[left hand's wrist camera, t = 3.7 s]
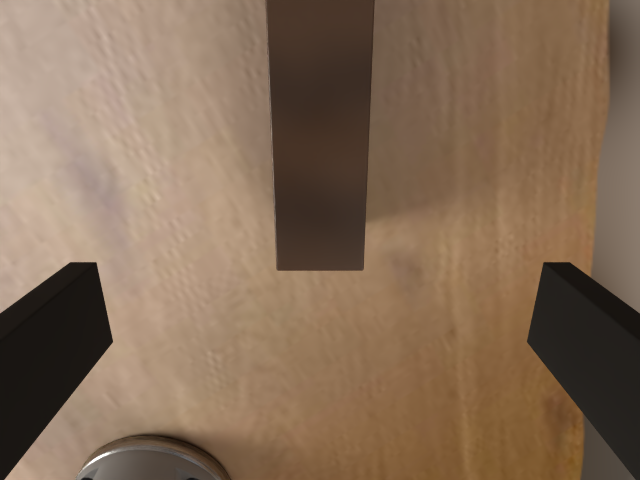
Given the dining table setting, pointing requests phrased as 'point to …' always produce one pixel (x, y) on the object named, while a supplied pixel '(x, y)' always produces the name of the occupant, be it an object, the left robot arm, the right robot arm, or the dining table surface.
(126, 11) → the dining table surface
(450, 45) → the dining table surface
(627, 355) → the left robot arm
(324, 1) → the beam
